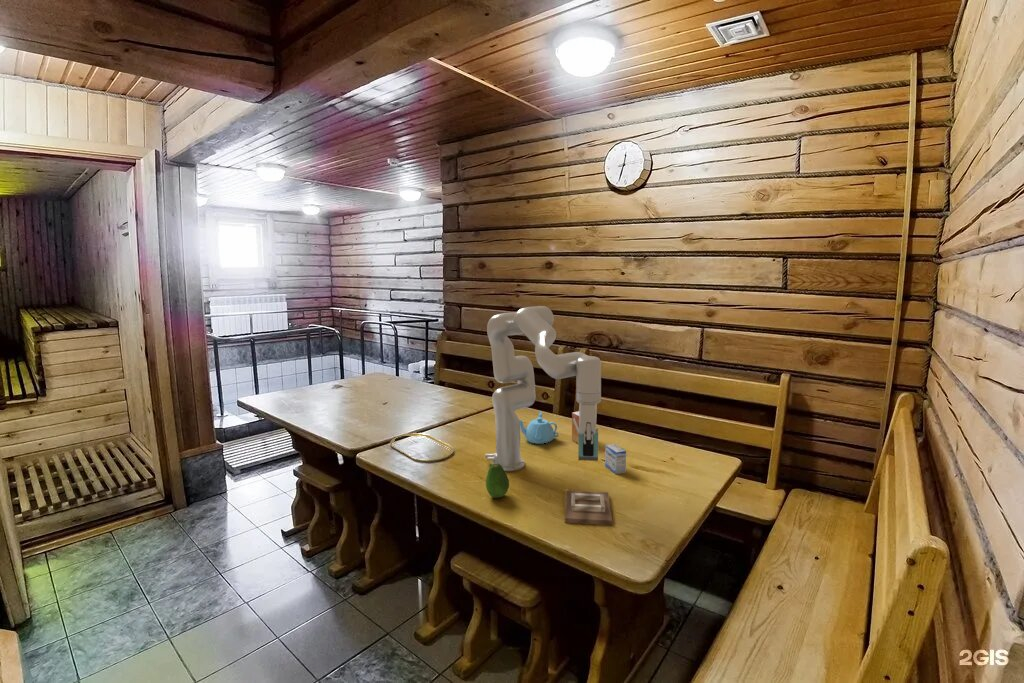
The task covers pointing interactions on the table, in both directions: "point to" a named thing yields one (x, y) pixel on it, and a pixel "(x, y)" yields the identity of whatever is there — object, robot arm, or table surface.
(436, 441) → the serving platter
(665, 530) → the table surface
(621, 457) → the medicine box
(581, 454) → the plug
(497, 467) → the avocado
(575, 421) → the small box
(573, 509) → the socket block
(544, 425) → the teapot
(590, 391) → the robot arm
